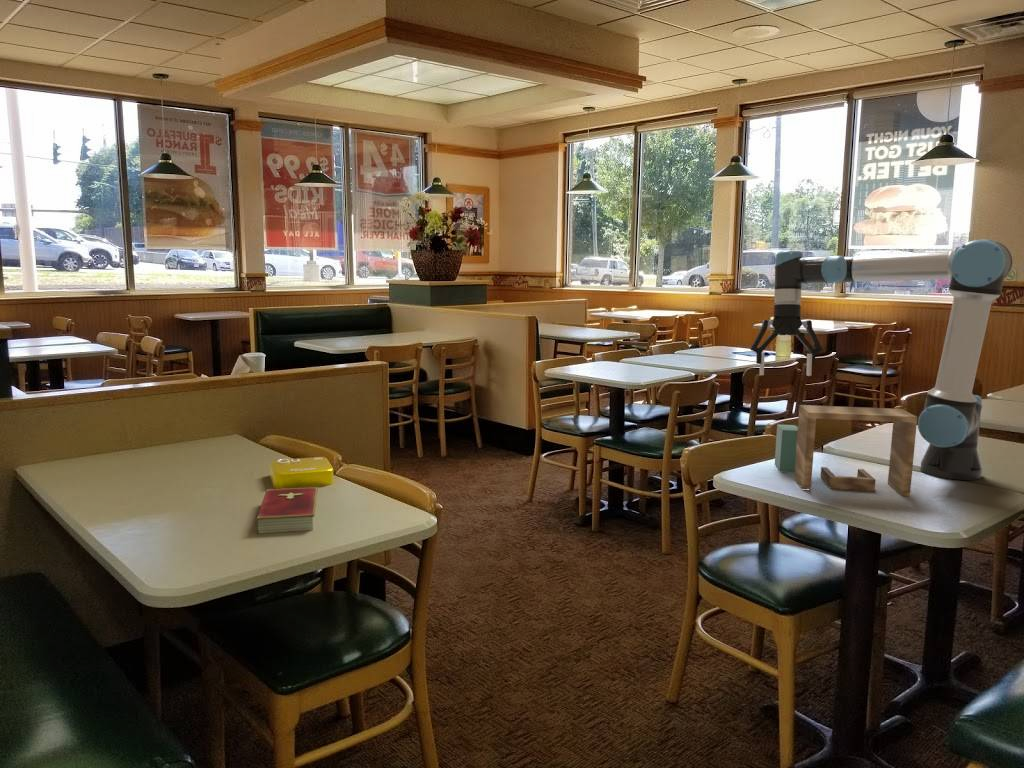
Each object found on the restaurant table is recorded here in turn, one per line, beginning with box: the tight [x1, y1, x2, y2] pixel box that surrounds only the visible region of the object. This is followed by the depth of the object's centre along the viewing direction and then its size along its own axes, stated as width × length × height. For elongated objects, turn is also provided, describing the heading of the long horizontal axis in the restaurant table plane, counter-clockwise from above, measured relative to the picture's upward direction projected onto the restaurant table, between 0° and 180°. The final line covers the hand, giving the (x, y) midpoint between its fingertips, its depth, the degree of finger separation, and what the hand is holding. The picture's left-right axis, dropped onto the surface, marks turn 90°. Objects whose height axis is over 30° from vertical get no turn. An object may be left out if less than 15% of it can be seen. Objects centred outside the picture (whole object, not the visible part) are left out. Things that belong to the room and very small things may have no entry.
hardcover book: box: [255, 486, 319, 535], centre depth 173 cm, size 12×21×4 cm, turn 12°
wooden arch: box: [793, 404, 918, 497], centre depth 203 cm, size 26×14×20 cm, turn 81°
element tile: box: [269, 456, 335, 489], centre depth 203 cm, size 15×15×5 cm
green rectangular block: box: [774, 424, 798, 473], centre depth 220 cm, size 5×8×12 cm, turn 171°
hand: (785, 375), depth 230 cm, fingers open, 13 cm apart
